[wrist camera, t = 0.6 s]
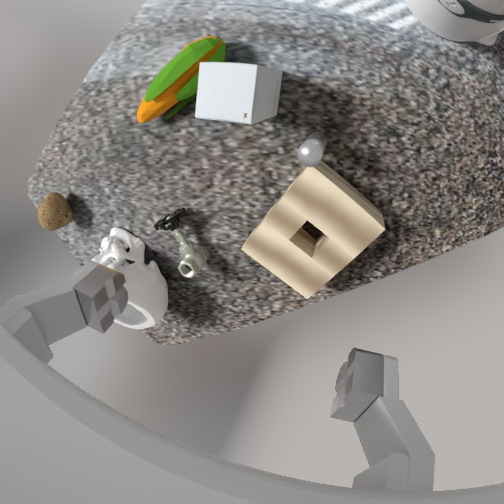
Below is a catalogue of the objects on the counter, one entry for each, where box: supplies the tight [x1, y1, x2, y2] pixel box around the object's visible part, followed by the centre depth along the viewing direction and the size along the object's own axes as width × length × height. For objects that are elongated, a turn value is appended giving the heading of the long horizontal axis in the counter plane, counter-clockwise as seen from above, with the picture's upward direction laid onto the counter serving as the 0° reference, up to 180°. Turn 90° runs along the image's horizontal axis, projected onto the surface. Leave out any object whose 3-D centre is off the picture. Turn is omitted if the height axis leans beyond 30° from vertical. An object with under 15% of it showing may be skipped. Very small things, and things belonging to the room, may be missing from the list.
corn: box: [137, 36, 226, 123], centre depth 39 cm, size 7×8×20 cm
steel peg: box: [297, 132, 327, 167], centre depth 38 cm, size 3×3×10 cm
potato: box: [38, 193, 73, 231], centre depth 61 cm, size 9×9×10 cm
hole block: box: [241, 160, 385, 299], centre depth 46 cm, size 18×14×6 cm
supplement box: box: [195, 62, 283, 125], centre depth 35 cm, size 7×7×13 cm
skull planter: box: [92, 227, 168, 329], centre depth 62 cm, size 14×20×19 cm
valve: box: [154, 208, 210, 278], centre depth 55 cm, size 7×7×12 cm
